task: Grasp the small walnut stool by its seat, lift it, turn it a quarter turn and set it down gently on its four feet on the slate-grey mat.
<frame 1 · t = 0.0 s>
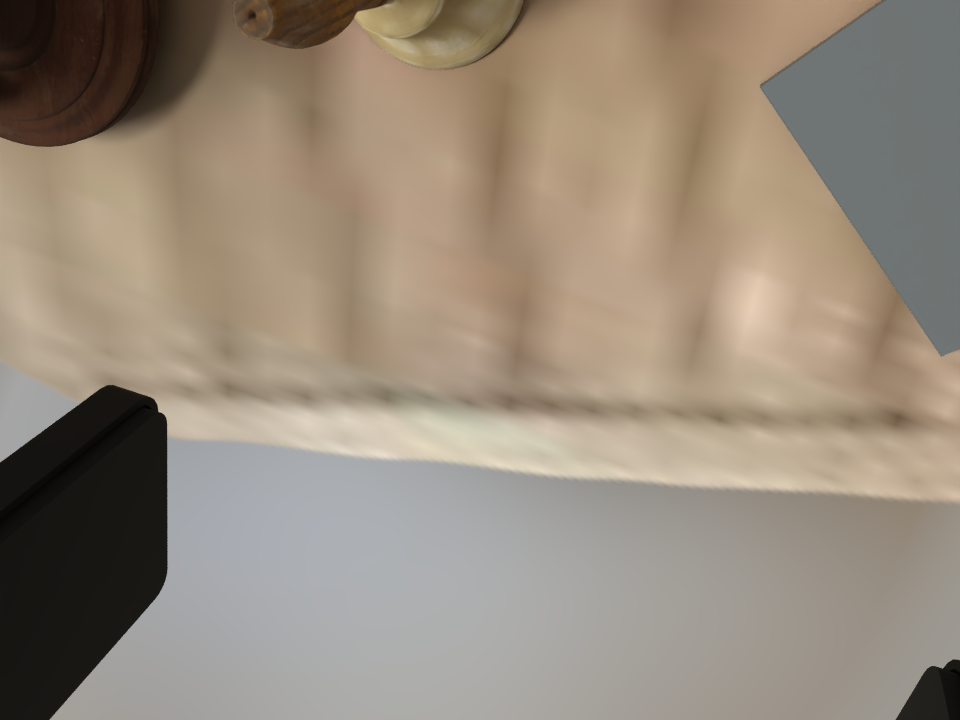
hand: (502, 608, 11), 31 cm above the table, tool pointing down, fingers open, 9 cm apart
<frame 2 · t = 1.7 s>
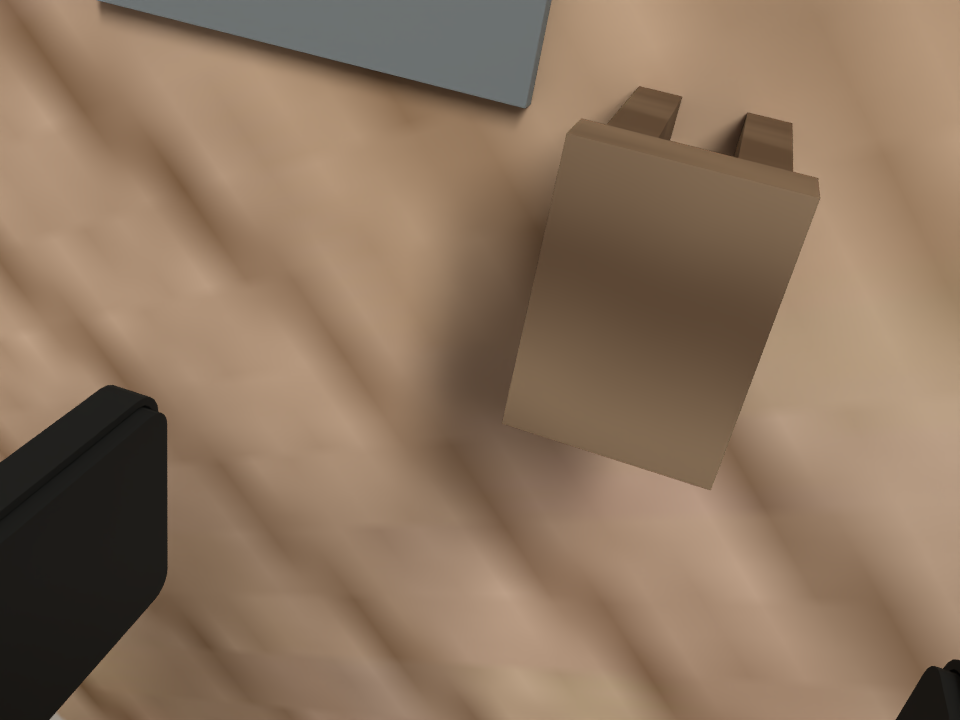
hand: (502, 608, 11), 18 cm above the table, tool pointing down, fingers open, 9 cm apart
walnut stool: (681, 215, 26), on the table
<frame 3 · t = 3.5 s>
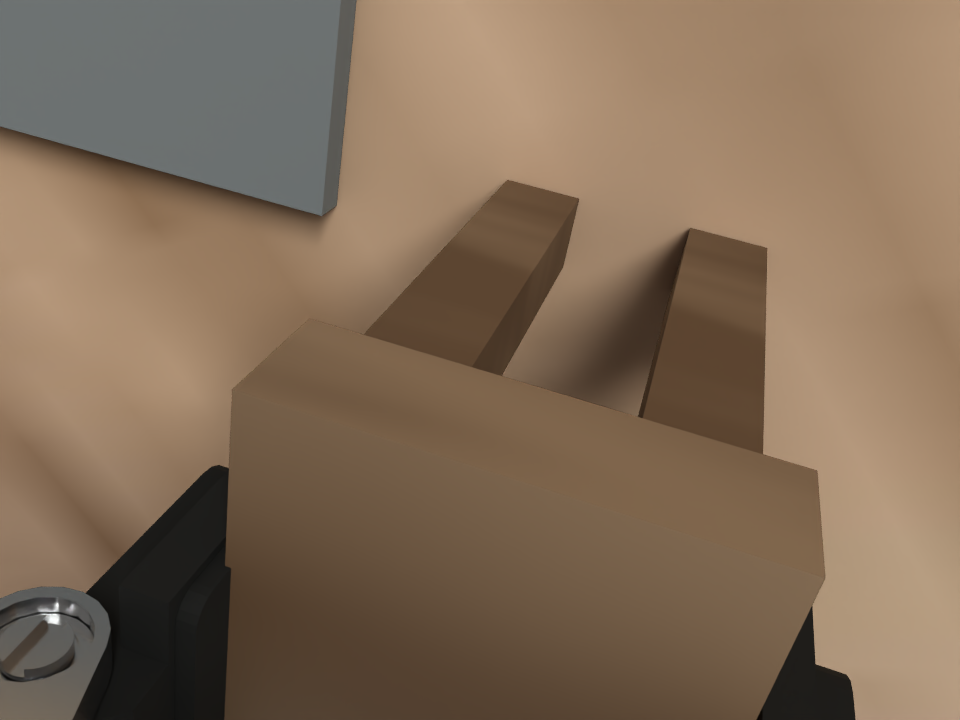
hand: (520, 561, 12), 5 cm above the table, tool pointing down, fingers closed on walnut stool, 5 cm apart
walnut stool: (587, 383, 16), on the table, touching gripper
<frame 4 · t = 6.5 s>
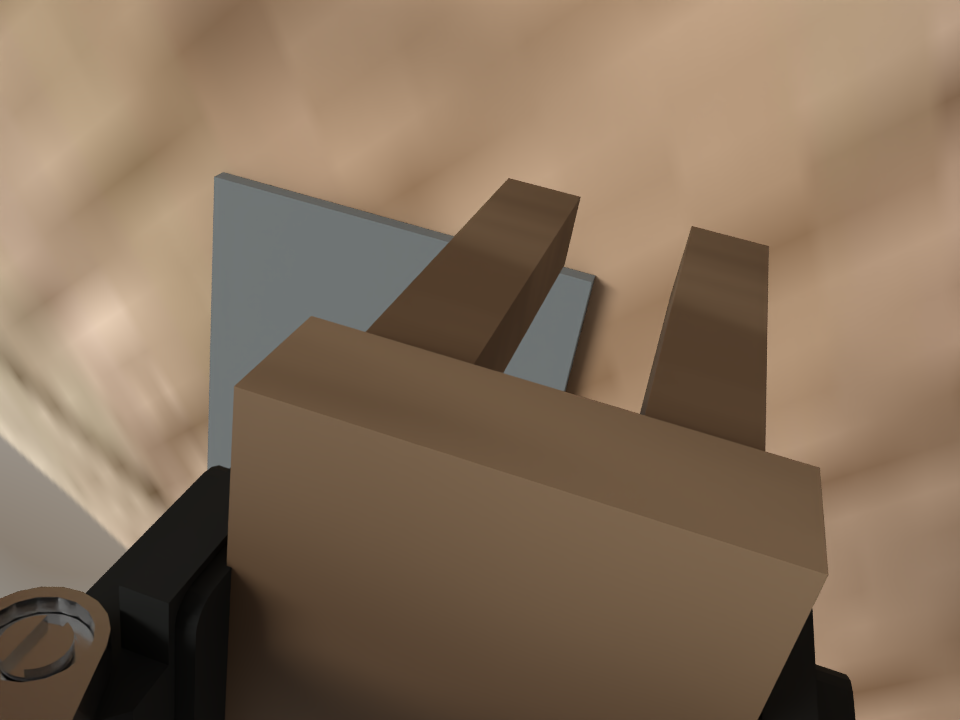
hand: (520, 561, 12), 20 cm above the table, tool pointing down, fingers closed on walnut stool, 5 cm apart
slate mat: (379, 388, 35), on the table
walnut stool: (589, 382, 16), point 15 cm above the table, touching gripper
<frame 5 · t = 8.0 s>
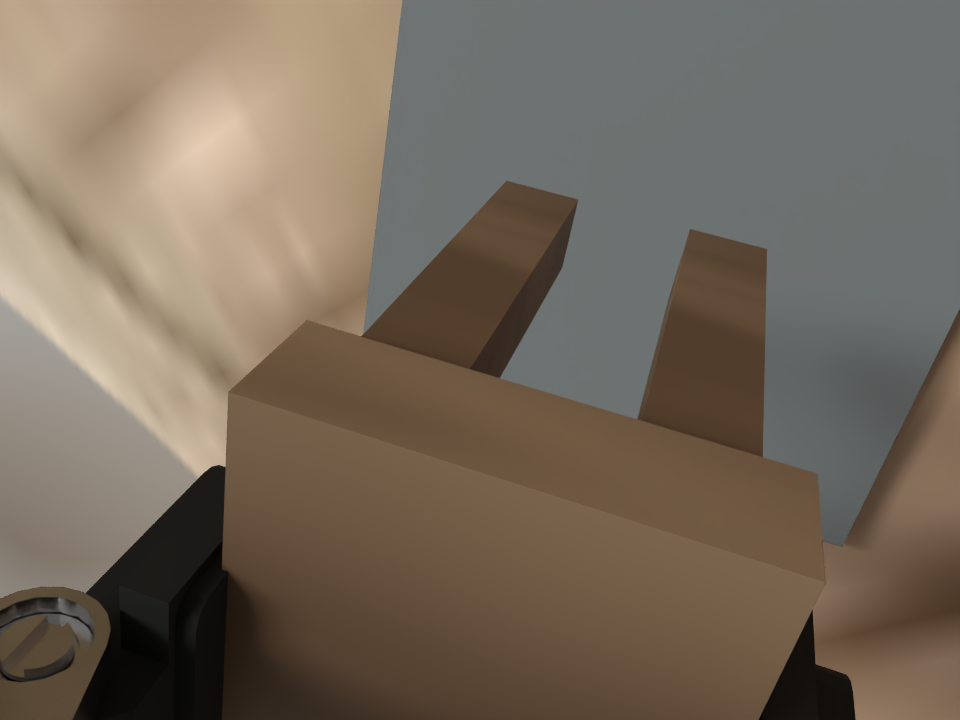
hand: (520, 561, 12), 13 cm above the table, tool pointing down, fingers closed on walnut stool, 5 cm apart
slate mat: (657, 227, 22), on the table
walnut stool: (587, 385, 16), point 8 cm above the table, touching gripper
when the fingers open (7 cm above the table, at t = 9.5 s): walnut stool drops 2 cm, resting on slate mat.
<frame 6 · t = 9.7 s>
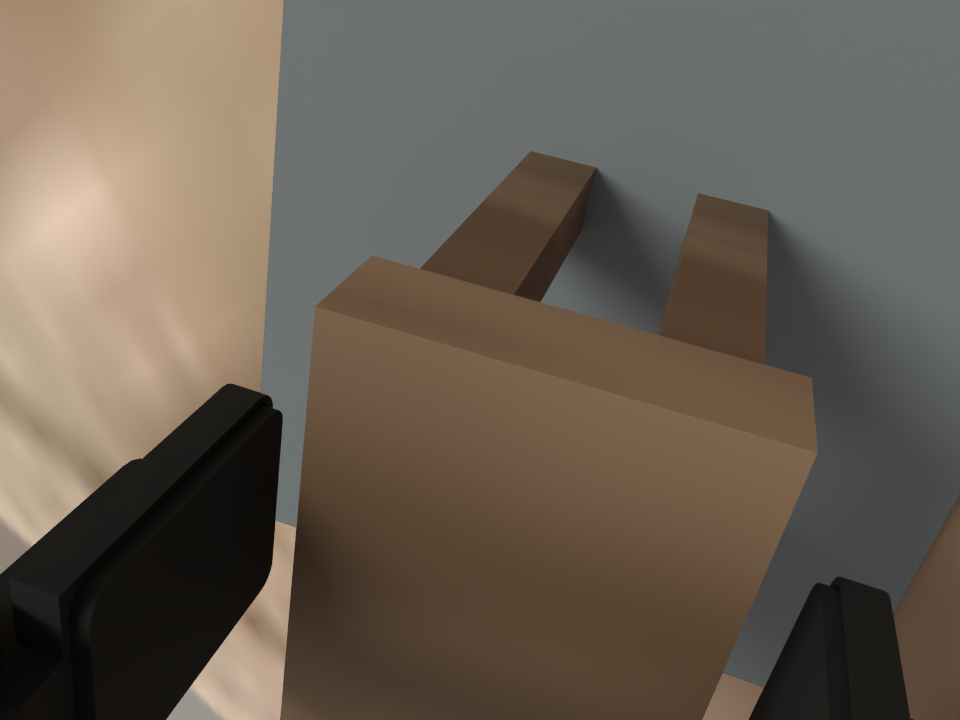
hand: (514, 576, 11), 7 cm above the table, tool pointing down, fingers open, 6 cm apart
slate mat: (607, 330, 18), on the table
walnut stool: (603, 340, 17), point 1 cm above the table, touching slate mat
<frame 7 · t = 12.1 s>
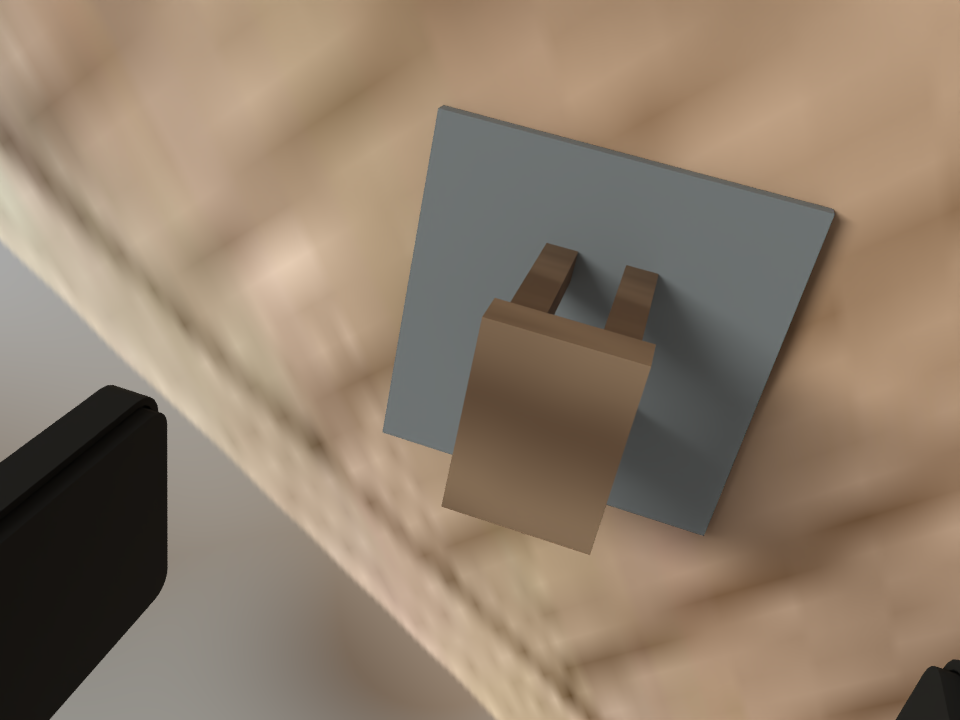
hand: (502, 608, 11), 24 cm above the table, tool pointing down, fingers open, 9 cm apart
slate mat: (582, 330, 35), on the table
walnut stool: (580, 335, 34), point 1 cm above the table, touching slate mat
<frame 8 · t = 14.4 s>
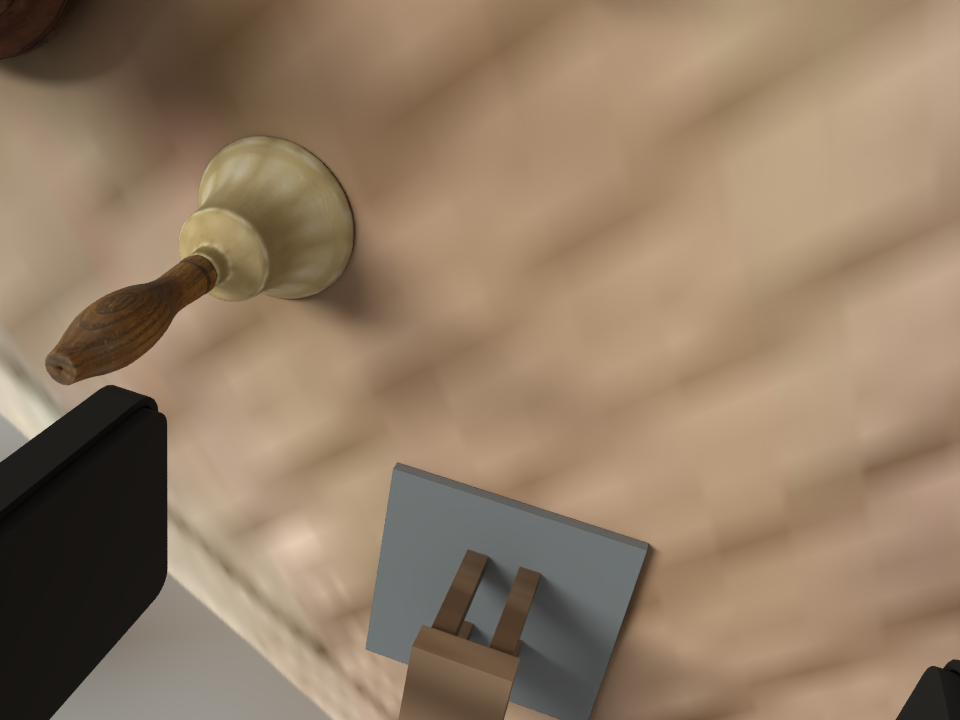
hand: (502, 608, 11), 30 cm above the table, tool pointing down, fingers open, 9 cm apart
slate mat: (496, 597, 52), on the table
hand bell: (278, 218, 45), on the table
walnut stool: (493, 603, 51), point 1 cm above the table, touching slate mat
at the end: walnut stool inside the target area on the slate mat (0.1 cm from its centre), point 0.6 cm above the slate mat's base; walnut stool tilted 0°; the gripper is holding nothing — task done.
